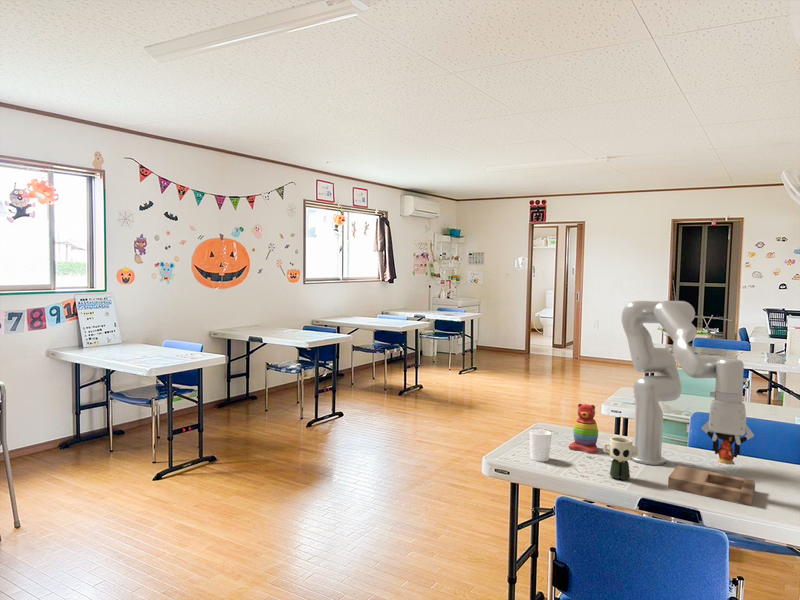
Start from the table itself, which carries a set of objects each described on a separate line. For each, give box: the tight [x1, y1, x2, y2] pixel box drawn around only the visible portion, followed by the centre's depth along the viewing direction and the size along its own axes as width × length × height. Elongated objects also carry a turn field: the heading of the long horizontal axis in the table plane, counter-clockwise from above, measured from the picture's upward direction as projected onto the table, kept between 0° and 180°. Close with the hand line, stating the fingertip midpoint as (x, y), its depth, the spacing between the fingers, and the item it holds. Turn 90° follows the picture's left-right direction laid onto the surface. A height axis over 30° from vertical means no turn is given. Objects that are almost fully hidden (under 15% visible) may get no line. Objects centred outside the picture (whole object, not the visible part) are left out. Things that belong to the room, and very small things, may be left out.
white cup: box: [529, 429, 552, 462], centre depth 210 cm, size 8×8×10 cm
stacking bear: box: [568, 403, 599, 455], centre depth 225 cm, size 11×10×18 cm
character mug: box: [603, 436, 638, 480], centre depth 192 cm, size 11×7×13 cm, turn 72°
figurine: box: [715, 433, 736, 466], centre depth 181 cm, size 6×6×12 cm
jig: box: [667, 465, 756, 507], centre depth 183 cm, size 23×16×4 cm
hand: (726, 454), depth 181 cm, fingers closed on figurine, 4 cm apart
